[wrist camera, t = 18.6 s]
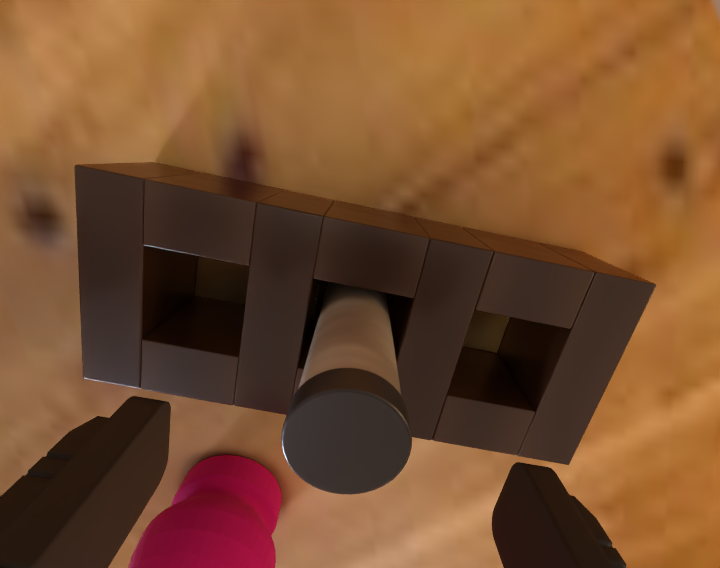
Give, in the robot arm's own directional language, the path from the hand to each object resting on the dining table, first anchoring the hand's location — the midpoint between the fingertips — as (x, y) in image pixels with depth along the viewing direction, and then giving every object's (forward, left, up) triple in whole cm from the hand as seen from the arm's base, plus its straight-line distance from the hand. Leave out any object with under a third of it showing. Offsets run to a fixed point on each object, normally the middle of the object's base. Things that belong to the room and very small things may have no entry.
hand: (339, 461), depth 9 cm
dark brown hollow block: (0, 0, -11) cm, 11 cm away
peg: (0, 0, -12) cm, 12 cm away
